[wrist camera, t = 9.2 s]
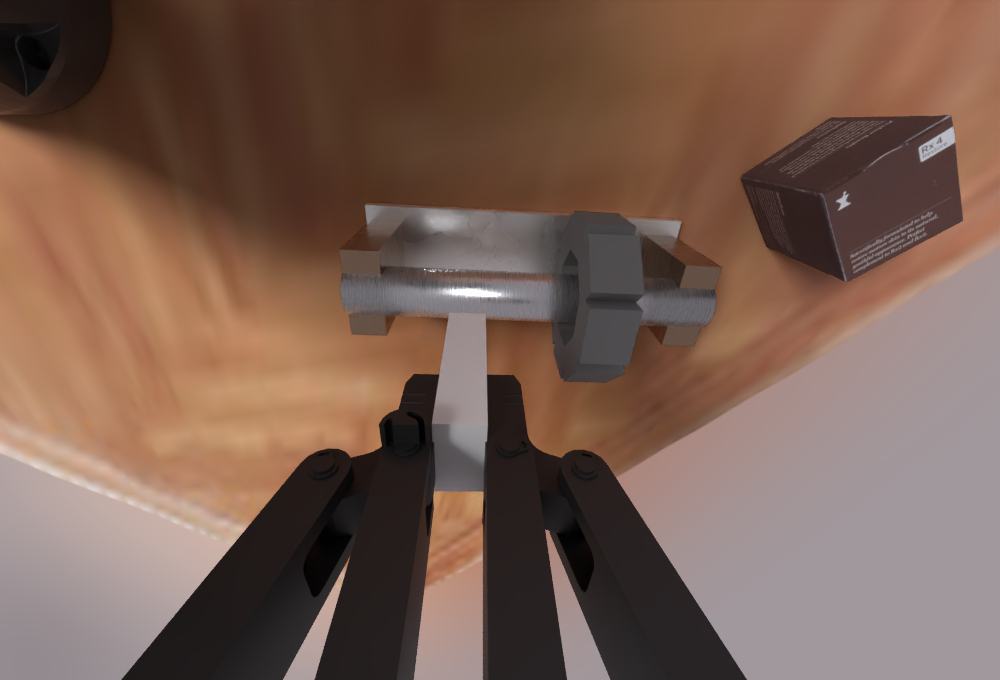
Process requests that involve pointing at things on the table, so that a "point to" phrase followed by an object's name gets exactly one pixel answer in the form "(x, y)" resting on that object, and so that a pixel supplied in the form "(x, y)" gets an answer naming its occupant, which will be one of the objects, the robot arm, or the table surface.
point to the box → (858, 191)
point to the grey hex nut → (599, 297)
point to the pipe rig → (507, 270)
